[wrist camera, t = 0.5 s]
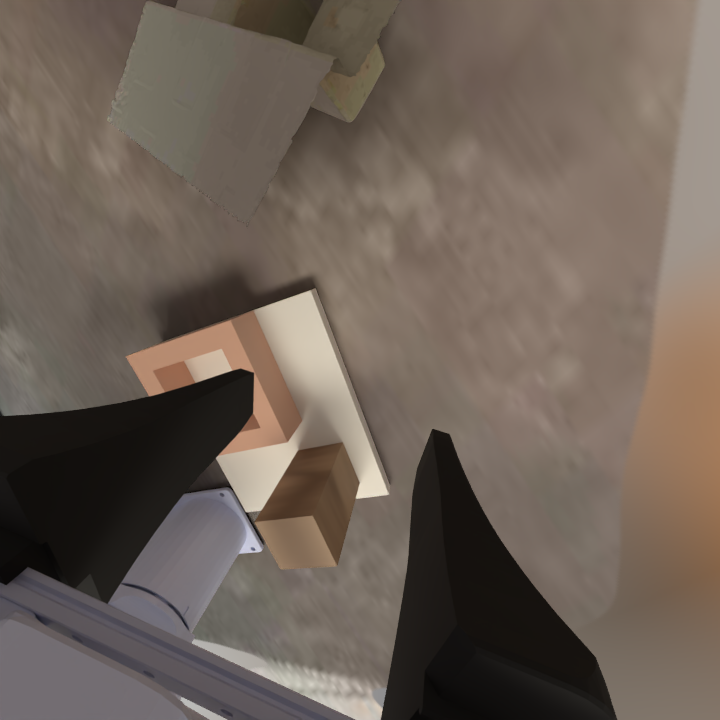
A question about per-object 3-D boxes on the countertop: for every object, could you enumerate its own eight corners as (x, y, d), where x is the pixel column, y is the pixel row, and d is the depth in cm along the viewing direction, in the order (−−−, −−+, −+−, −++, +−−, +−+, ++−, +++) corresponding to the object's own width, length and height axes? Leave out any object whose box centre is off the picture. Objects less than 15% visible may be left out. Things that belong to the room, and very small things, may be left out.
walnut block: (315, 489, 26) (280, 569, 20) (297, 450, 25) (254, 522, 19) (359, 483, 25) (337, 566, 19) (342, 442, 24) (312, 515, 18)
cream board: (251, 504, 30) (246, 512, 29) (162, 341, 25) (152, 345, 24) (390, 485, 26) (388, 494, 25) (315, 288, 21) (310, 290, 20)
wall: (239, 210, 24) (334, 297, 15) (99, 123, 18) (118, 186, 9) (356, -22, 20) (583, -93, 11) (230, -247, 14) (531, -873, 5)
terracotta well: (210, 440, 27) (188, 461, 24) (157, 343, 24) (125, 356, 22) (302, 420, 24) (287, 442, 22) (253, 310, 22) (230, 319, 19)
